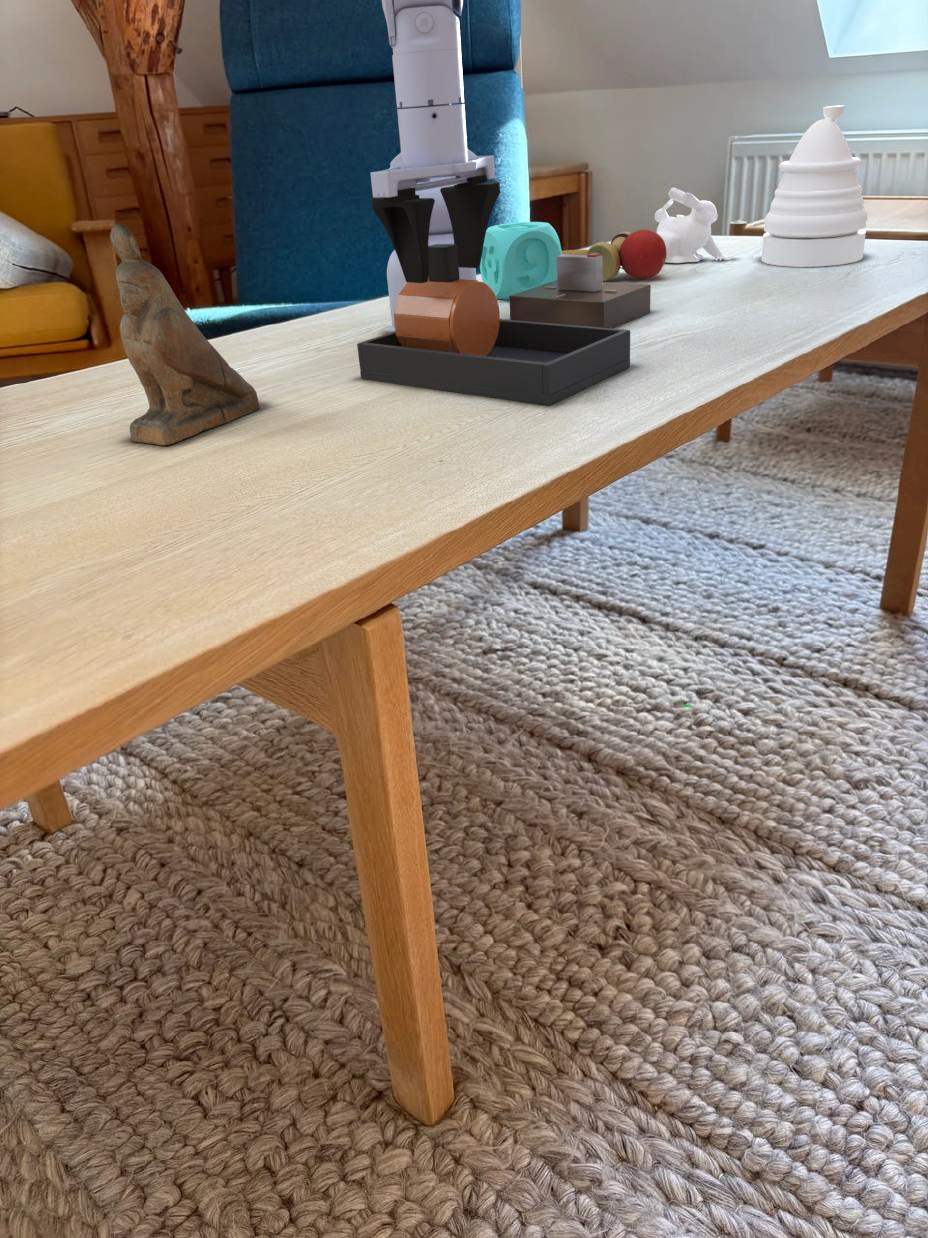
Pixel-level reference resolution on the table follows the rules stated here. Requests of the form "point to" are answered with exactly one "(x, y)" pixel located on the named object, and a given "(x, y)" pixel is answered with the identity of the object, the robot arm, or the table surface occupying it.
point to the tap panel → (582, 305)
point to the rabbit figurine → (688, 229)
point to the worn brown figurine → (171, 356)
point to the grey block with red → (580, 272)
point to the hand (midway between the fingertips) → (443, 274)
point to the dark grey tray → (506, 362)
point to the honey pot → (817, 202)
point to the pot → (447, 309)
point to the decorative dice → (519, 257)
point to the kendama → (630, 254)
